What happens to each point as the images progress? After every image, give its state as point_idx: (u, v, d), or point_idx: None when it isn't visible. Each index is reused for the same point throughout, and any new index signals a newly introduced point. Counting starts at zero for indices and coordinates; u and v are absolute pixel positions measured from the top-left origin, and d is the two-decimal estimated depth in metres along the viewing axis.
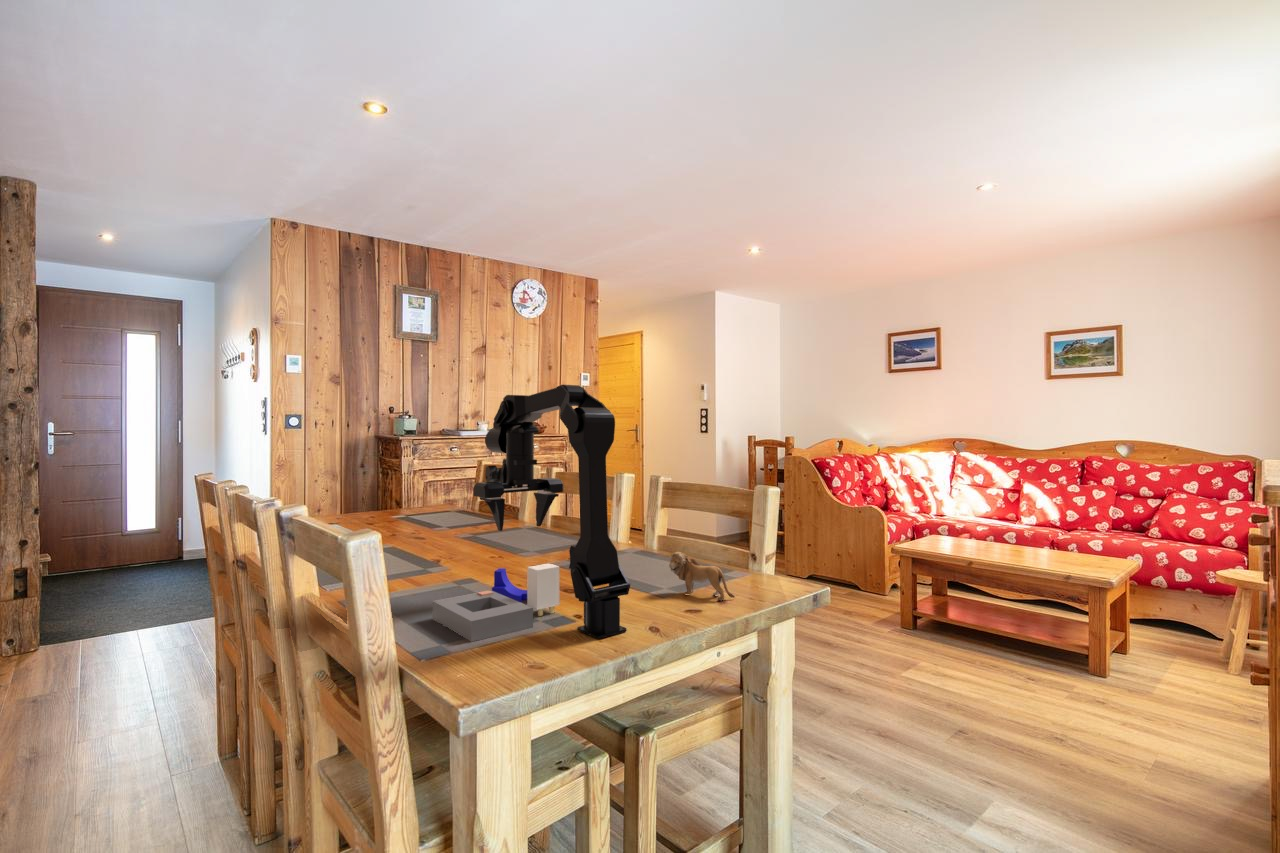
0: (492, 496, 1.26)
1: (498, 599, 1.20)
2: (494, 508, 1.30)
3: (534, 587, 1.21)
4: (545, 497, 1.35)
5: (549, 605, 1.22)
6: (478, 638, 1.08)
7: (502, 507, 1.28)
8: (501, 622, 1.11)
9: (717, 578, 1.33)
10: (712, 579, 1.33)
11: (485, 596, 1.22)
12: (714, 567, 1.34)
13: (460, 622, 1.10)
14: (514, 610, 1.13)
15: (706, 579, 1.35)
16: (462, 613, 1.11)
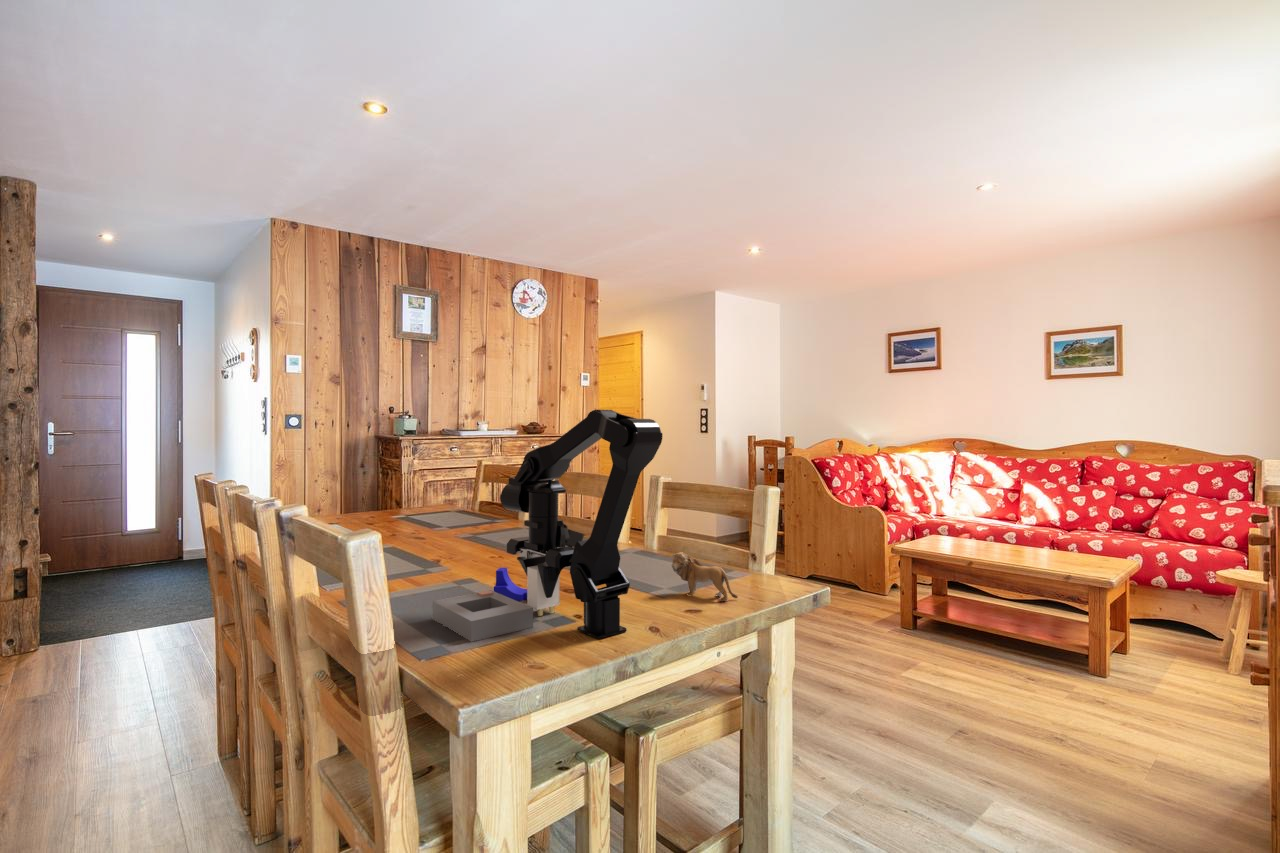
0: (508, 552, 1.27)
1: (498, 599, 1.20)
2: None
3: (534, 587, 1.21)
4: None
5: (549, 605, 1.22)
6: (478, 638, 1.08)
7: (525, 568, 1.24)
8: (501, 622, 1.11)
9: (720, 579, 1.32)
10: (715, 580, 1.32)
11: (485, 596, 1.22)
12: (717, 567, 1.33)
13: (460, 622, 1.10)
14: (514, 610, 1.13)
15: (709, 580, 1.34)
16: (462, 613, 1.11)
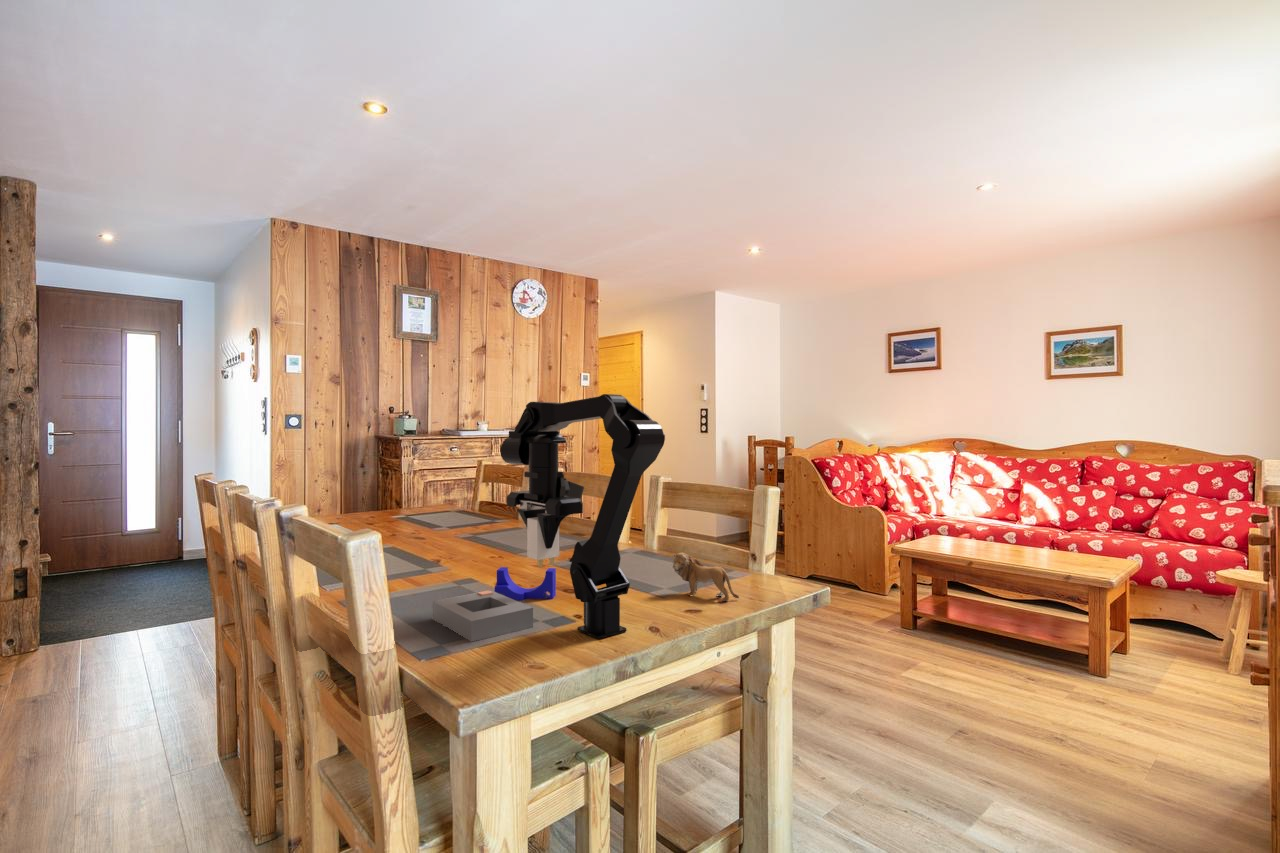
0: (508, 504, 1.27)
1: (498, 599, 1.20)
2: None
3: (534, 538, 1.21)
4: None
5: (549, 556, 1.22)
6: (478, 638, 1.08)
7: (525, 519, 1.24)
8: (501, 622, 1.11)
9: (721, 579, 1.32)
10: (716, 580, 1.32)
11: (485, 596, 1.22)
12: (718, 568, 1.33)
13: (460, 622, 1.10)
14: (514, 610, 1.13)
15: (710, 580, 1.34)
16: (462, 613, 1.11)
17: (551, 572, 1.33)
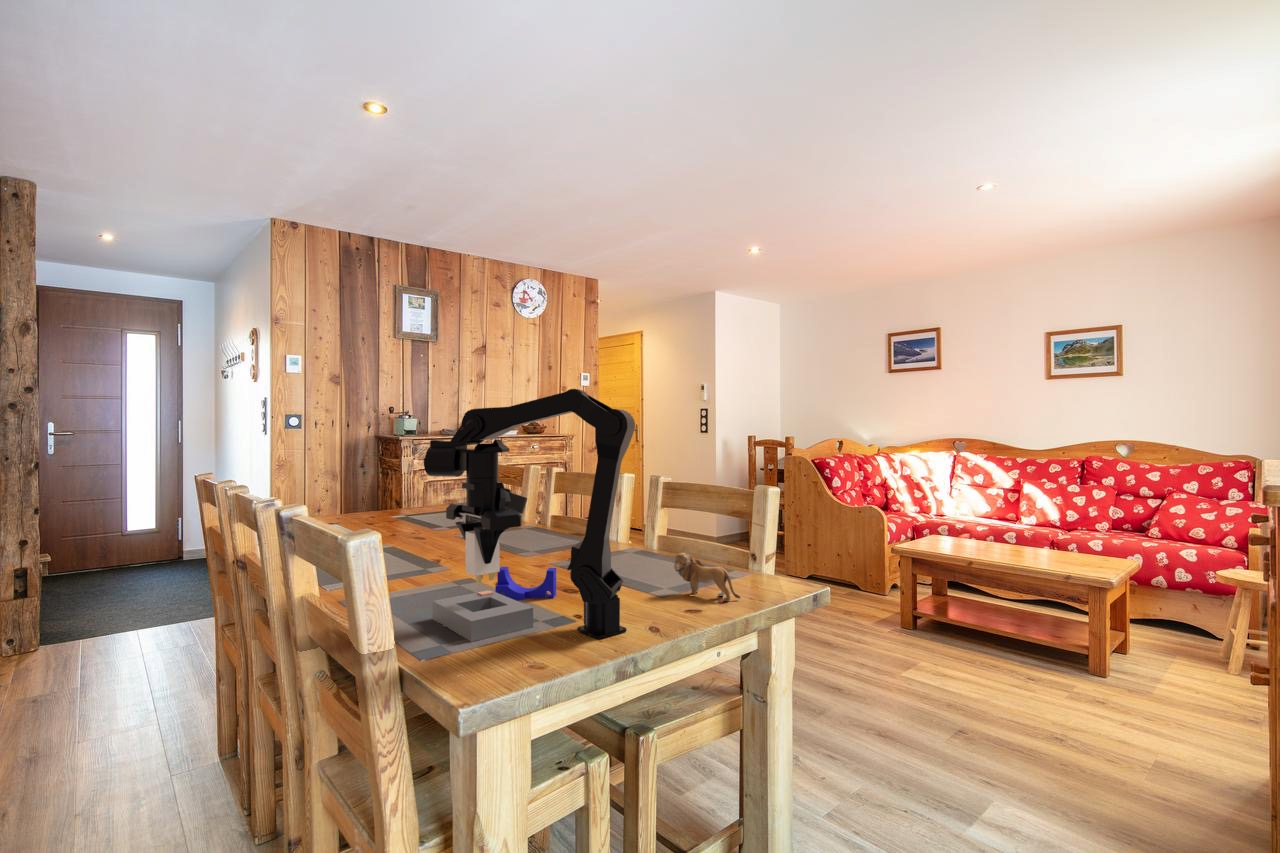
0: (447, 517, 1.21)
1: (498, 599, 1.20)
2: None
3: (472, 552, 1.14)
4: None
5: (488, 571, 1.16)
6: (478, 638, 1.08)
7: (463, 533, 1.17)
8: (501, 622, 1.11)
9: (723, 579, 1.32)
10: (718, 580, 1.32)
11: (485, 596, 1.22)
12: (720, 568, 1.33)
13: (460, 622, 1.10)
14: (514, 610, 1.13)
15: (711, 580, 1.34)
16: (462, 613, 1.11)
17: (552, 571, 1.34)
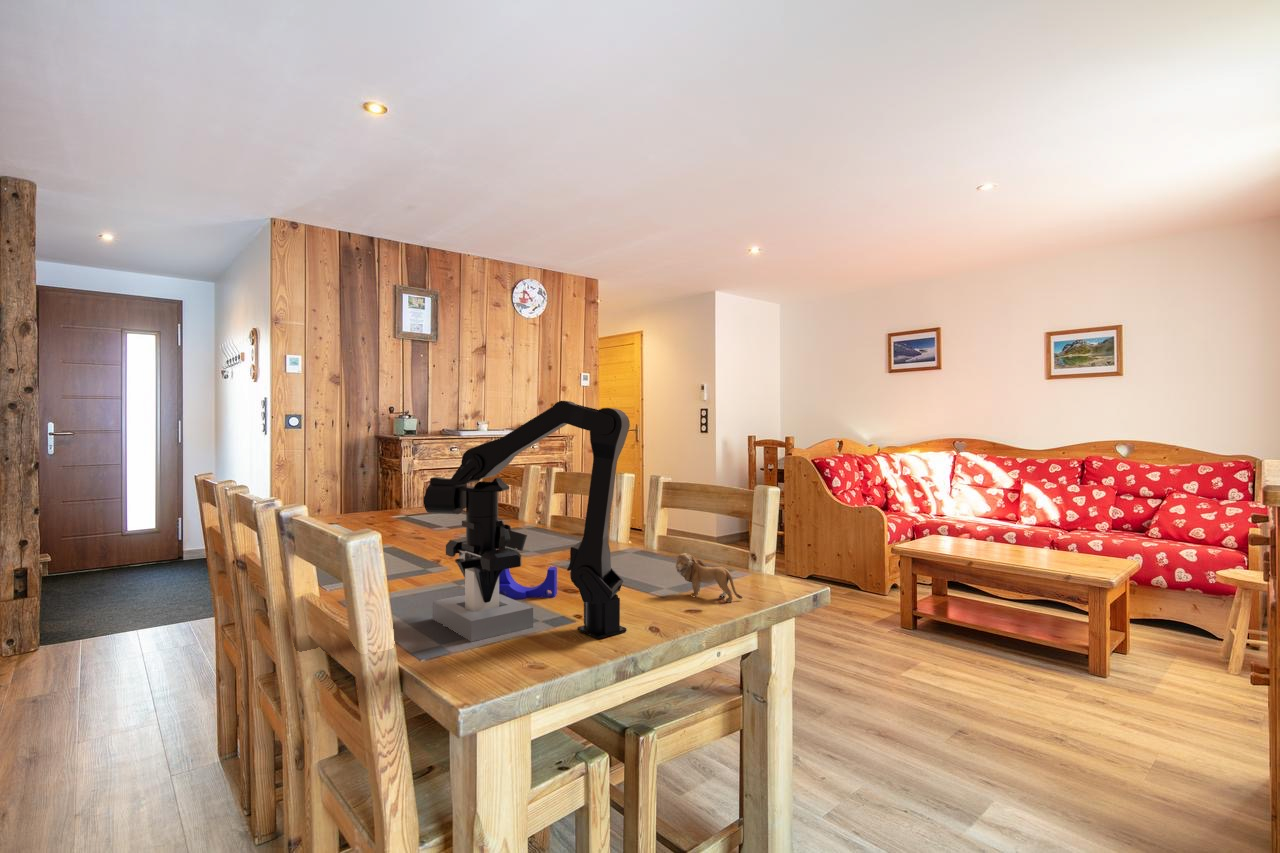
0: (447, 553, 1.21)
1: None
2: None
3: (472, 590, 1.14)
4: None
5: None
6: (478, 638, 1.08)
7: (463, 571, 1.17)
8: (501, 622, 1.11)
9: (725, 579, 1.32)
10: (720, 580, 1.32)
11: None
12: (722, 568, 1.33)
13: (460, 622, 1.10)
14: (514, 610, 1.13)
15: (713, 580, 1.34)
16: (462, 613, 1.11)
17: (553, 571, 1.34)
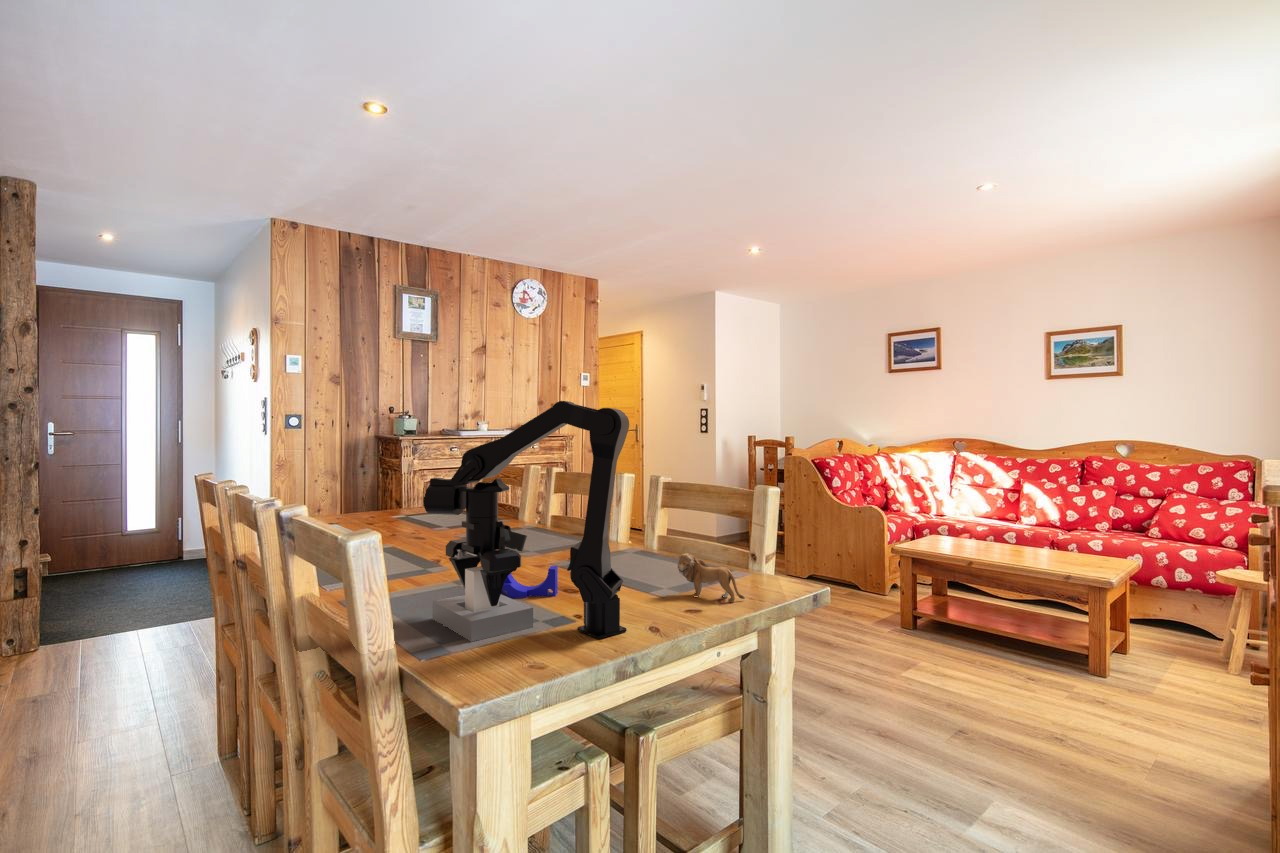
0: (447, 554, 1.21)
1: None
2: None
3: (472, 590, 1.14)
4: None
5: None
6: (478, 638, 1.08)
7: (456, 569, 1.19)
8: (501, 622, 1.11)
9: (727, 579, 1.31)
10: (722, 580, 1.32)
11: None
12: (724, 568, 1.33)
13: (460, 622, 1.10)
14: (514, 610, 1.13)
15: (715, 581, 1.33)
16: (462, 613, 1.11)
17: (554, 570, 1.35)
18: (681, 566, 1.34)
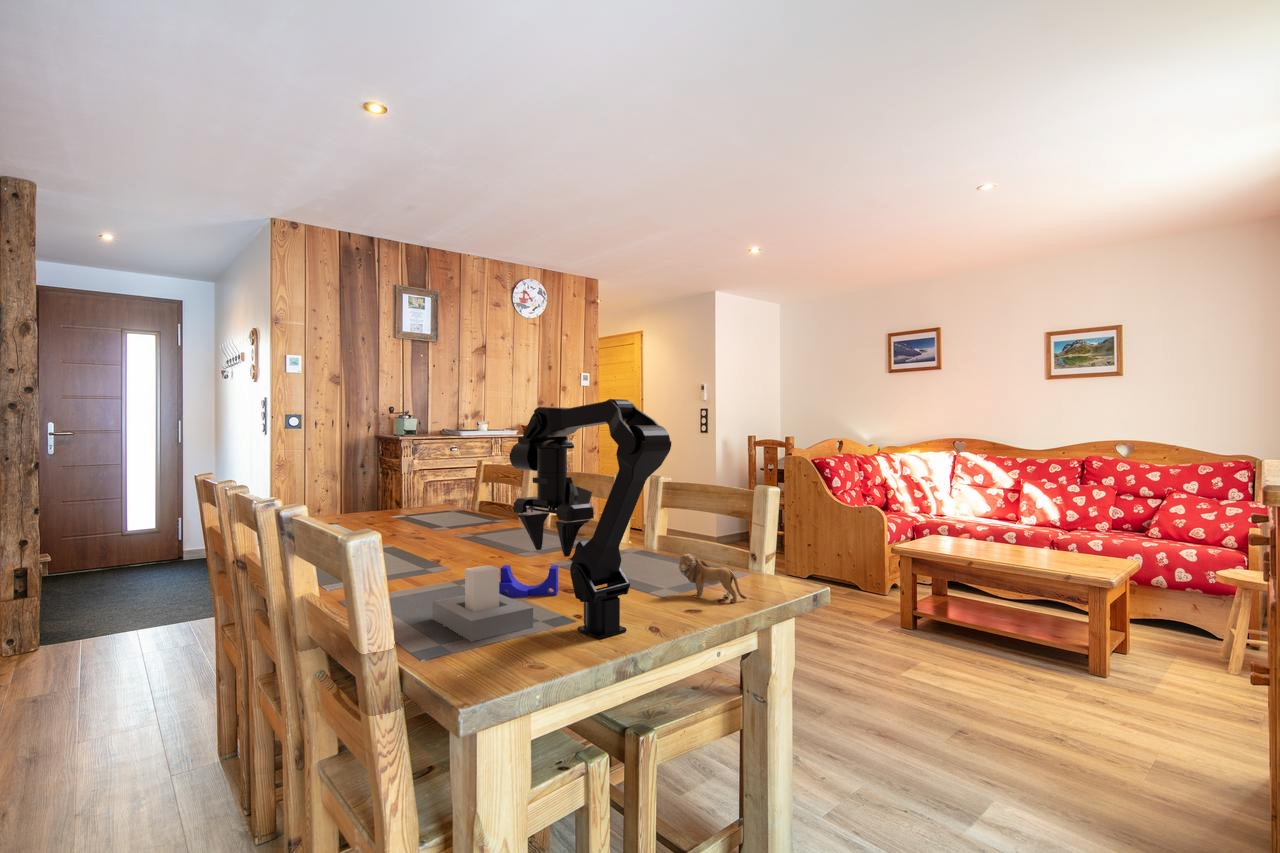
0: (515, 511, 1.26)
1: None
2: None
3: (472, 590, 1.14)
4: None
5: None
6: (478, 638, 1.08)
7: (526, 524, 1.24)
8: (501, 622, 1.11)
9: (729, 580, 1.31)
10: (724, 581, 1.31)
11: None
12: (726, 569, 1.32)
13: (460, 622, 1.10)
14: (514, 610, 1.13)
15: (717, 581, 1.33)
16: (462, 613, 1.11)
17: (555, 569, 1.36)
18: (683, 567, 1.34)
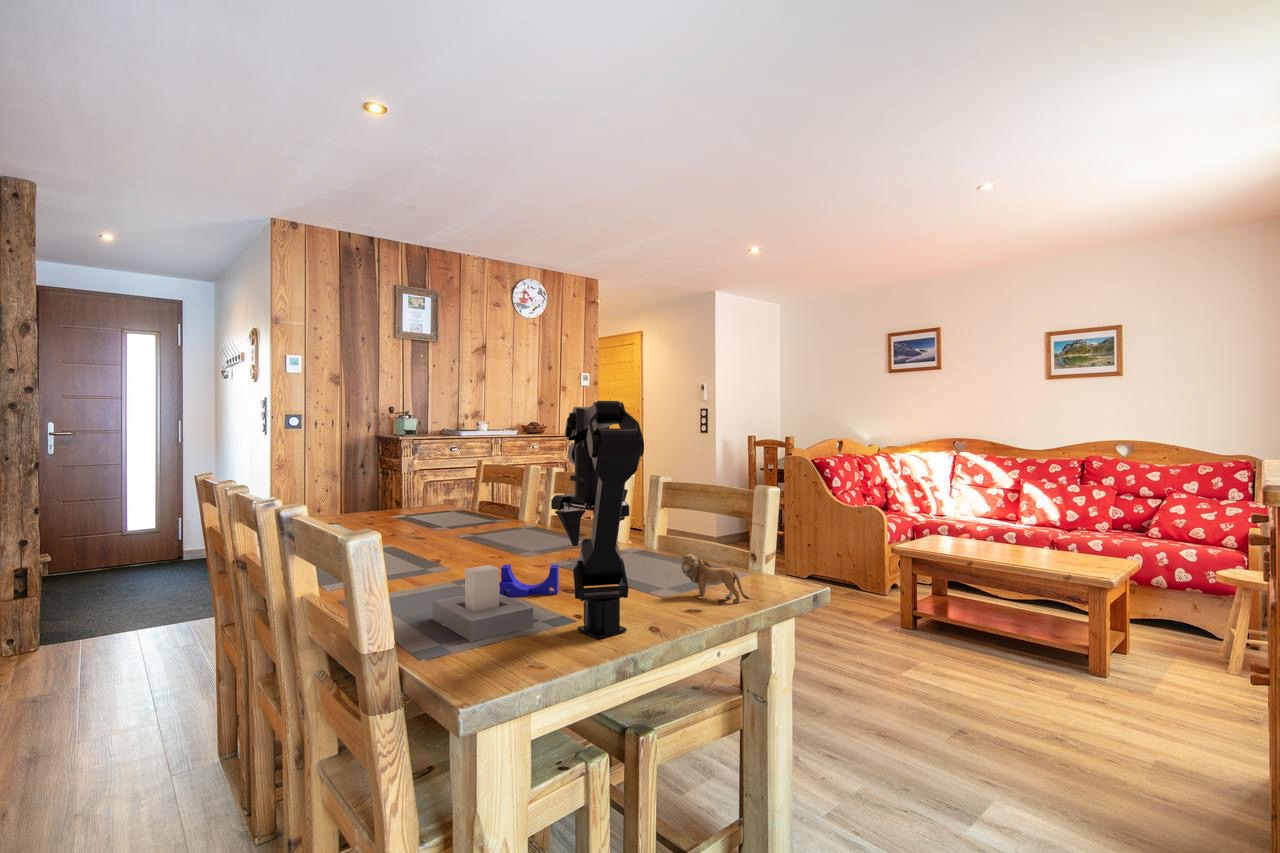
0: (553, 507, 1.29)
1: None
2: None
3: (472, 590, 1.14)
4: None
5: None
6: (478, 638, 1.08)
7: (563, 521, 1.28)
8: (501, 622, 1.11)
9: (732, 580, 1.31)
10: (727, 581, 1.31)
11: None
12: (728, 569, 1.32)
13: (460, 622, 1.10)
14: (514, 610, 1.13)
15: (720, 581, 1.33)
16: (462, 613, 1.11)
17: (555, 568, 1.36)
18: (685, 567, 1.34)
